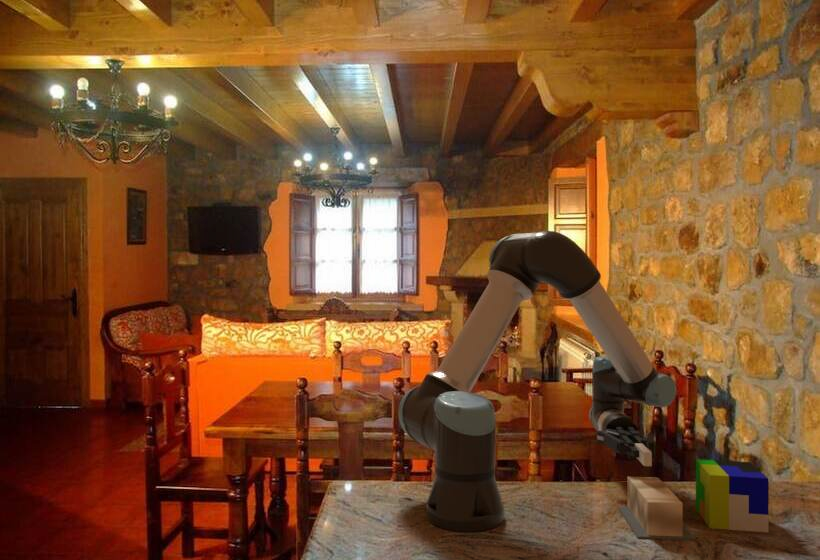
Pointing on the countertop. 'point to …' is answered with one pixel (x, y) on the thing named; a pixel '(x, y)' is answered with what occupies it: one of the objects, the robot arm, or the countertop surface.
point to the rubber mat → (641, 532)
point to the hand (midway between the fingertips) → (647, 459)
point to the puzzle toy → (732, 495)
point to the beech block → (655, 506)
